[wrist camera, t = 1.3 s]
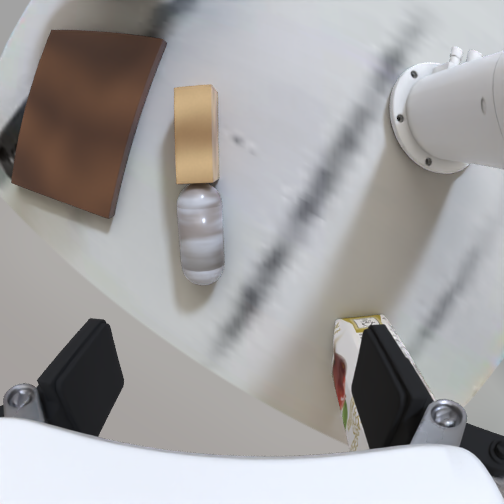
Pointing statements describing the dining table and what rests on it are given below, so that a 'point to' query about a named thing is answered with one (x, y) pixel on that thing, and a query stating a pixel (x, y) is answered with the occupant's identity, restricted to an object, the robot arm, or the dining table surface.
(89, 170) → the chopping board
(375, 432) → the robot arm
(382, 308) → the dining table surface
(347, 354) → the juice carton
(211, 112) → the wood and marble capsule
